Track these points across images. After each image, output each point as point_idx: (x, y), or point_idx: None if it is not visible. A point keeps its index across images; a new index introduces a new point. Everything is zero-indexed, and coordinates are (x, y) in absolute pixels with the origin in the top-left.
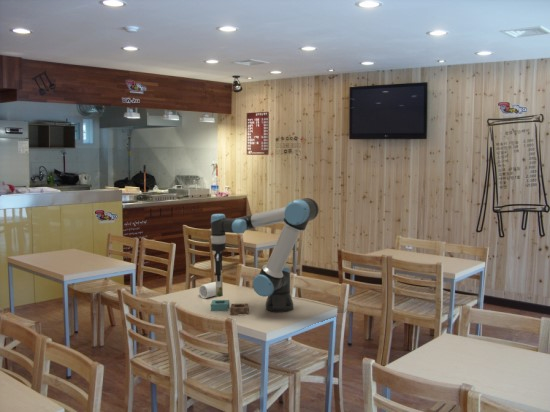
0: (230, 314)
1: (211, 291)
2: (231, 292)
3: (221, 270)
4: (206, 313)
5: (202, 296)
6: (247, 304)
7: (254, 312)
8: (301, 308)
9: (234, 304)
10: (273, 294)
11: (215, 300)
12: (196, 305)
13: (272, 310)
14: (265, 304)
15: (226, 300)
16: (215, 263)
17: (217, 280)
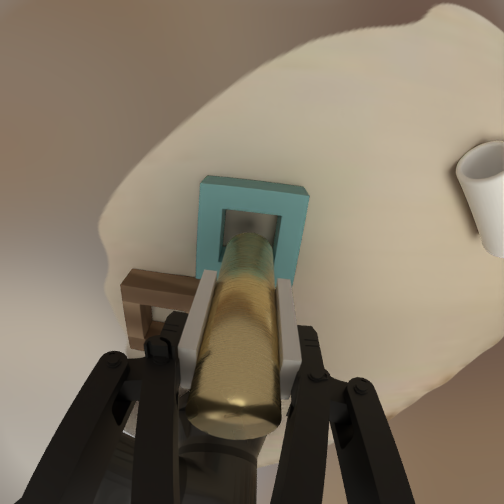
0: (131, 270)
1: (473, 204)
2: (493, 283)
3: (208, 433)
4: (162, 154)
5: (476, 151)
6: None
7: None
8: None
9: (188, 309)
10: (181, 447)
11: (294, 214)
12: (342, 96)
13: (179, 399)
14: None
15: (280, 276)
16: (34, 472)
17: (167, 319)
